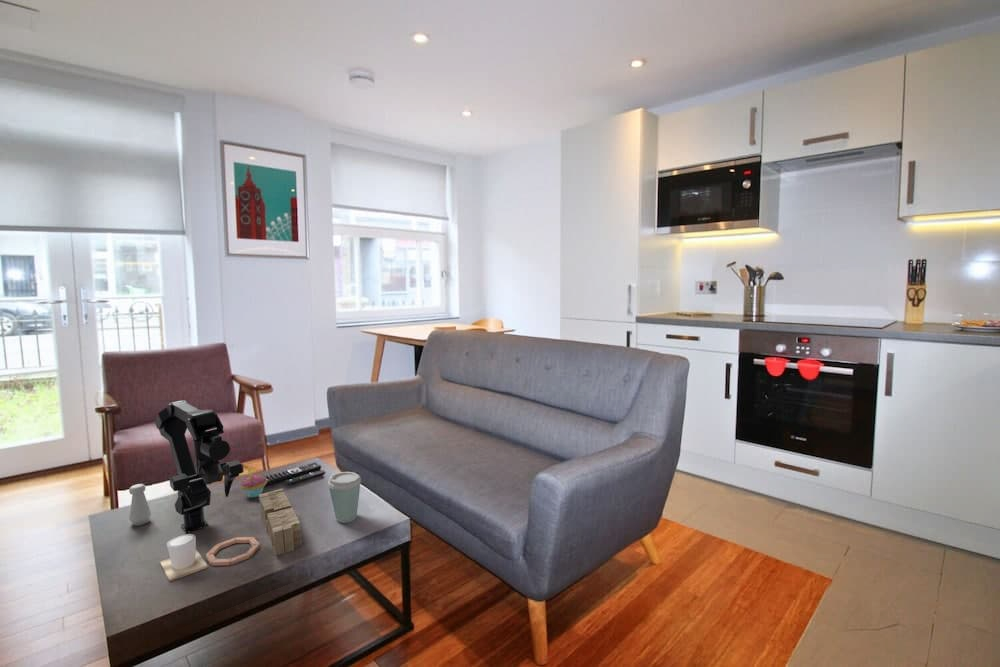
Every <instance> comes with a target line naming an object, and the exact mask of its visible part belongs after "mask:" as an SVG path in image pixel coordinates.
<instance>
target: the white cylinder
mask: <svg viewBox="0 0 1000 667" xmlns="http://www.w3.org/2000/svg"><path fill="white" fill-rule="evenodd" d="M196 538H197V537H196V535H195V534H193V533H192V534H191V533H188V534H181V535H179V536H175V537H173V538H172V539H170V540H169V541H168V542H167V543H166V546H167V552H168V555H169V558H170V560H171V565H172V568H173V569H183V568H186V567H189V566H191V565H192V564H193V563H194V562H195V560H196V549H197V544H196V543H197V542H196V540H197V539H196Z"/></svg>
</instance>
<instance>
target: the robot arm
mask: <svg viewBox="0 0 1000 667" xmlns="http://www.w3.org/2000/svg"><path fill="white" fill-rule="evenodd" d="M154 421H155V422H154V424H155V428H156V429H158V431H159V434H160V436H162V438H164V439H166V441H168V443H169V446H170V451H171V453H172V457H173V459H174V463H175V464H174V465H175V467H176V471H177V474H178V475H174V476H171V477H170V478H169V487H170V488H171V489H172V491H173V492H177V499H176V501H175V503H174V510H175V512H177V513H178V514H179V515H180V516H182V515H183V516H182V519H183V523H181V525H180V527H181V528H182V529H183V531H184V533H190V532H193V531H196V530H199V529H202V528H205V527H208V526H209V523H208V522H207V520H206V519H205V511H204V510H205V509H204V508H205V507H208V506H210V505H211V497H212V496H211V495H212V494H211V493H212V492H211V490H210V489H209V487H208V485H212V484H213V483H217V482H218V483H220V482H222V481H223V482H224V484H223V485H224V495H225V497H226V498H228V497H229V495H230V491H231V488H232V486H233V485H232V484H233V482H234V480H235V479H236V478H237V477H240V474H243V473H244V471H245V470H244V465H243V464H242V463H241V462H240V461H238V460H237V459H236V460H231V461H226V462H225V461H224V462H221V463H220V461H221V460H223V459H225V458H226V457H227V456H228V455H229V453H230V451H231V447H230V444H229V442H228V441H227V440H223V439H222V438H223V437H222V434H224V433H225V432H224V425H223V423H222V421H221V419H220V417H219V416H218V414H217V413H216V412H215V411H214V410H212V409H198V408H197V407H195V406H193V405H191V404H189V403H188V401H187V400H184V399H183V400H178V401H173V402H172V401H171V402H169V403H167V405H166V406H165V408H163V409H162V410H161V411H159V412H158V413H157V416H156V418H155V420H154ZM187 430H188V432H189V433H190V435H191V438H192V441H193V442H192V443H193V454H194V455H193V456H194V460H193V458H192V455H191V451H190V447H189V445H188V444H189V443H188V441H187V437H186V432H187ZM194 463H195V464H194Z"/></svg>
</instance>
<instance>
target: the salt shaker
mask: <svg viewBox="0 0 1000 667" xmlns="http://www.w3.org/2000/svg"><path fill="white" fill-rule="evenodd" d="M145 491H146V485H145V484H144V483H138V484H133V485H132V486H130V487H129V488H128V492H129V494H130V495H132V496H131V501H130V502H131V503H130V509H129V510H130V511H129V517H128V518H129V521H130V522H131V523H132V525H133V526H135V527H136V526H138V527H139V526H143V525H145V524H147V523H148V522H149V521H150V518H151V516H152V512H151V509H150V506H149V503H148V499H147V497H146V495H145Z"/></svg>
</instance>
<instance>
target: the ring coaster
mask: <svg viewBox="0 0 1000 667" xmlns="http://www.w3.org/2000/svg"><path fill="white" fill-rule="evenodd" d="M234 544H250V545H251V547H250V548H249V549H248V551H246V552H245V553H243V554H239V555H237V556H233V557H232V558H216V557H215V555H216V554H217V553H218V552H219V550H221V549H223V548H226V547H228V546H232V545H234ZM258 549H260V542H259V541H258V540H256V539H255V537H253V536H243V537H242V536H239V537H238V536H237V537H233V538H231V539H227V540H225V541H222V542H219V543H217V544H215V545H214V546H213V547H211V549H210V550H209V551H208V552H206V554H205V559H207V562H208V563H209V564H210V566H232V565H235V564H237V563H239V562H242V561H244V560H247V559H249V558H251V557H253V555H255V553H256V552H257V550H258Z"/></svg>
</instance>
